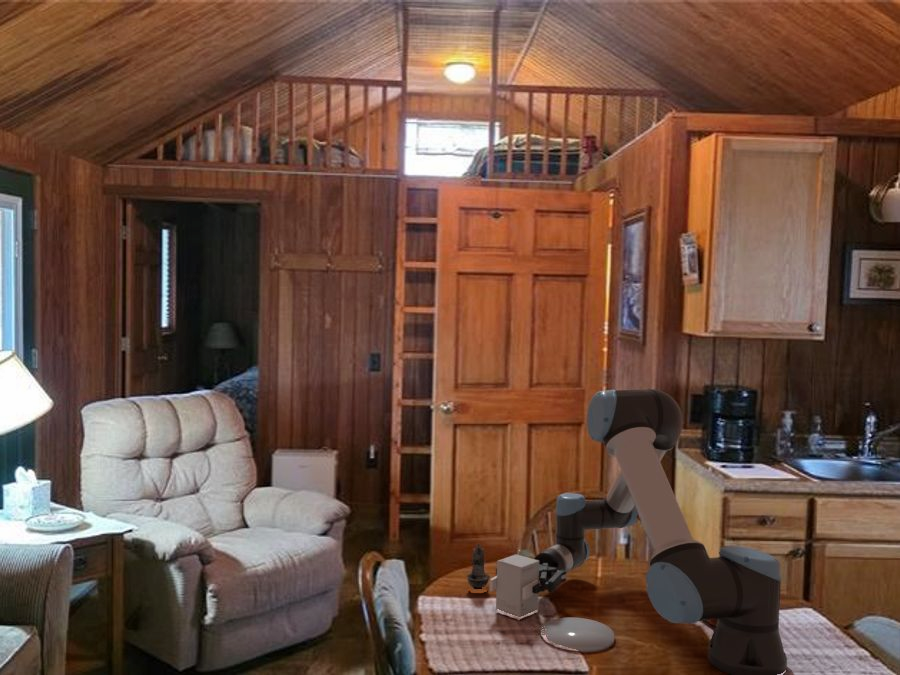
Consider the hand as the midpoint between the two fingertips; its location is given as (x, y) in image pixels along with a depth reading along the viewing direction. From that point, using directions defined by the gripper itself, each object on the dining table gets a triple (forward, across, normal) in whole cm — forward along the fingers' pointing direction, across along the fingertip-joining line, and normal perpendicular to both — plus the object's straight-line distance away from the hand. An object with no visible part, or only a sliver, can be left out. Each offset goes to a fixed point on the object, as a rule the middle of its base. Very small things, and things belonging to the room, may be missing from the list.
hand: (507, 589), depth 183 cm
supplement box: (-5, 0, -7) cm, 9 cm away
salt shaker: (-12, +15, -7) cm, 21 cm away
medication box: (-34, +12, -8) cm, 37 cm away
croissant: (-32, -38, -8) cm, 50 cm away
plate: (-1, -17, -7) cm, 19 cm away
